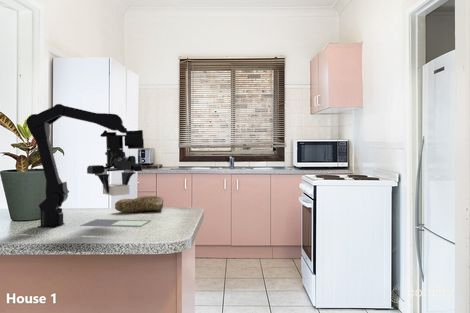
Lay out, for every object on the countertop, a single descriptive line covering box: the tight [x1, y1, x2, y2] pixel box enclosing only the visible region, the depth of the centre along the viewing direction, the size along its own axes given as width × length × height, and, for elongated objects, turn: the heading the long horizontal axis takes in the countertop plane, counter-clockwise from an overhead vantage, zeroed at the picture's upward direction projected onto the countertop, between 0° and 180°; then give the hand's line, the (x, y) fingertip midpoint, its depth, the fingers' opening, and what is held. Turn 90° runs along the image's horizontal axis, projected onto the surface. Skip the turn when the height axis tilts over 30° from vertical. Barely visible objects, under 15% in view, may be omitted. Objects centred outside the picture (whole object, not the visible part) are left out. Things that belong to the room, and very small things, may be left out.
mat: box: [79, 218, 152, 228], centre depth 139 cm, size 22×12×1 cm, turn 83°
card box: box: [102, 183, 130, 197], centre depth 139 cm, size 6×9×3 cm, turn 42°
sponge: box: [114, 195, 164, 214], centre depth 166 cm, size 13×8×20 cm
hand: (116, 192), depth 139 cm, fingers closed on card box, 6 cm apart
